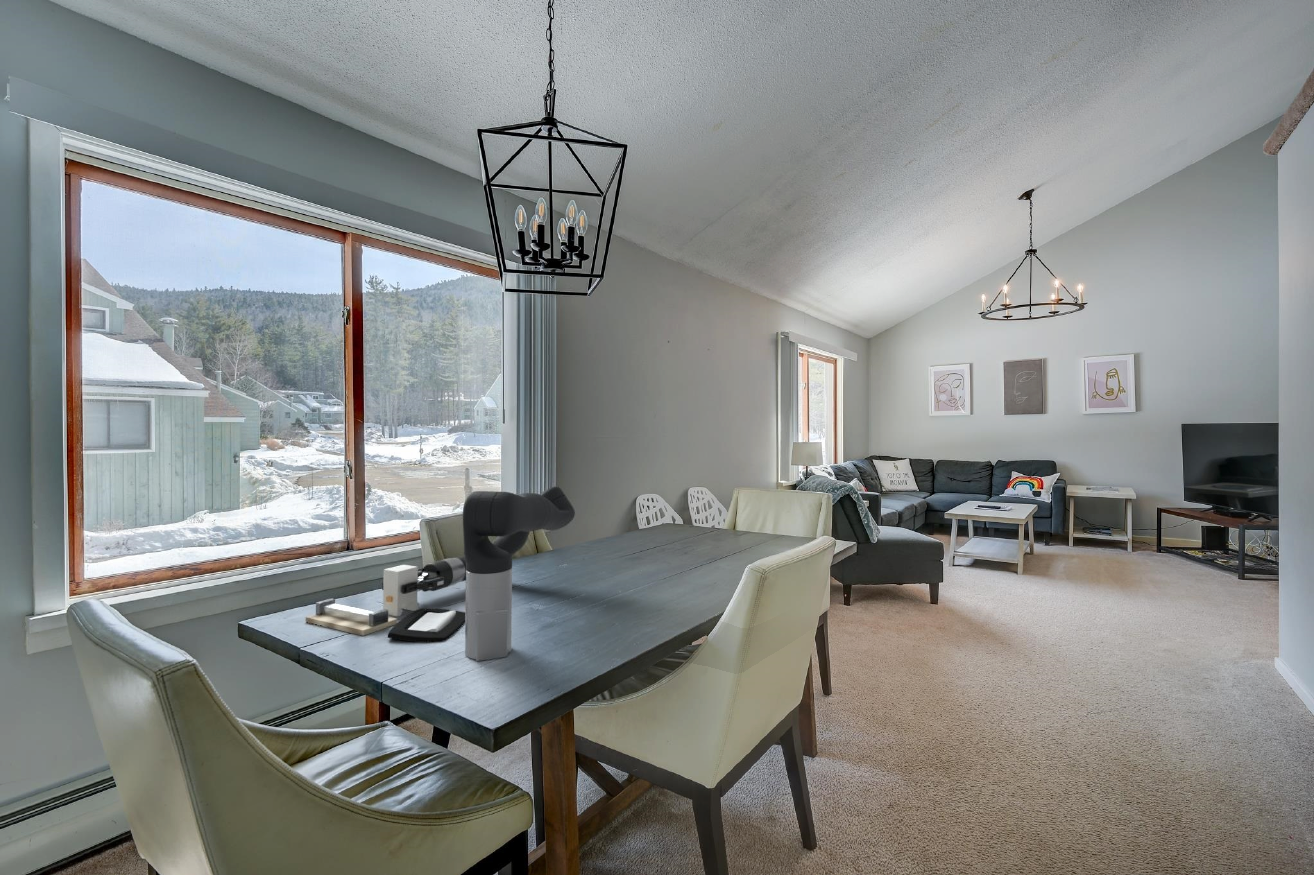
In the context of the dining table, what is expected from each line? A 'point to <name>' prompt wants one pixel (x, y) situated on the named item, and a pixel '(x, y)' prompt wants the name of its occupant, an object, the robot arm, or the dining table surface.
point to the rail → (351, 613)
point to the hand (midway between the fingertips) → (392, 588)
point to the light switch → (428, 625)
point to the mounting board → (348, 624)
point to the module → (399, 589)
